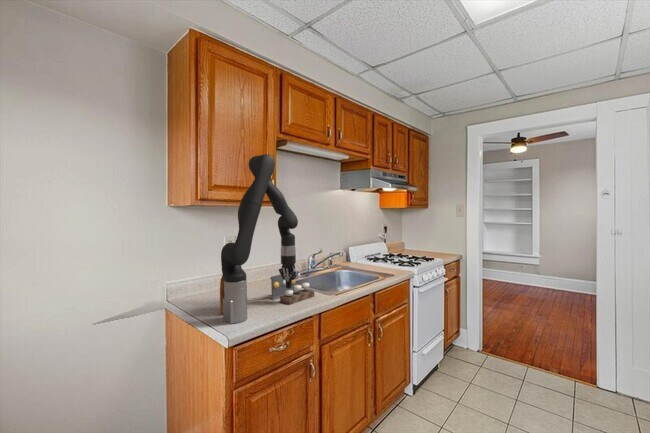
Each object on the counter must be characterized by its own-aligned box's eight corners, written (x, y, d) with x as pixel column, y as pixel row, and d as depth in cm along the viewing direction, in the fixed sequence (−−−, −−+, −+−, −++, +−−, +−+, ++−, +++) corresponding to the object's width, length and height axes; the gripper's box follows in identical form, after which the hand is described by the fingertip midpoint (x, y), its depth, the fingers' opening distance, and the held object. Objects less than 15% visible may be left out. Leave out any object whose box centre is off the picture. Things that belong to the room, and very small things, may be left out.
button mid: (297, 291, 158) (297, 287, 158) (292, 289, 161) (292, 286, 161) (303, 289, 161) (302, 285, 161) (297, 288, 164) (297, 284, 164)
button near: (288, 296, 154) (288, 292, 153) (283, 295, 156) (283, 291, 156) (294, 294, 157) (294, 290, 156) (289, 293, 159) (289, 289, 159)
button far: (305, 288, 162) (305, 284, 162) (300, 287, 165) (300, 283, 165) (310, 287, 166) (310, 283, 165) (305, 286, 168) (305, 282, 168)
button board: (289, 304, 152) (289, 298, 152) (280, 302, 157) (280, 296, 156) (314, 296, 165) (314, 290, 165) (305, 294, 170) (305, 288, 170)
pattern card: (273, 300, 160) (272, 277, 160) (269, 299, 162) (269, 276, 162) (298, 292, 174) (297, 271, 173) (294, 291, 176) (294, 270, 175)
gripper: (274, 254, 157) (274, 287, 158) (291, 256, 149) (292, 292, 149) (285, 252, 163) (285, 284, 163) (302, 254, 154) (303, 288, 155)
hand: (288, 288), depth 156 cm, fingers closed
